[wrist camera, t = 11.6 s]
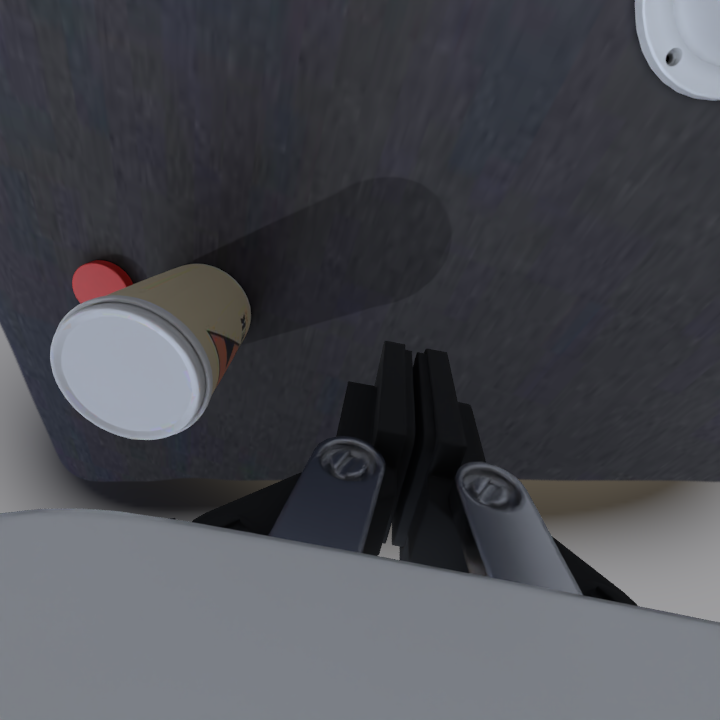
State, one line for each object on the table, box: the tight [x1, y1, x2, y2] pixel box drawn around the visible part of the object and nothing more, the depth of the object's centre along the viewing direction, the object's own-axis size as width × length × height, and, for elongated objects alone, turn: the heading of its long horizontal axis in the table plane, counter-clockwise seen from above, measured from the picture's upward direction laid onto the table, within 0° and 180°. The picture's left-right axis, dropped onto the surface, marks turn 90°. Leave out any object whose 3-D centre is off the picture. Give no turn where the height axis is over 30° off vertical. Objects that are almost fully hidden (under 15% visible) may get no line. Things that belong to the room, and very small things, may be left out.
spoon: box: [72, 260, 133, 303], centre depth 37 cm, size 16×5×1 cm, turn 19°
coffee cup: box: [50, 264, 251, 440], centre depth 30 cm, size 9×9×12 cm
